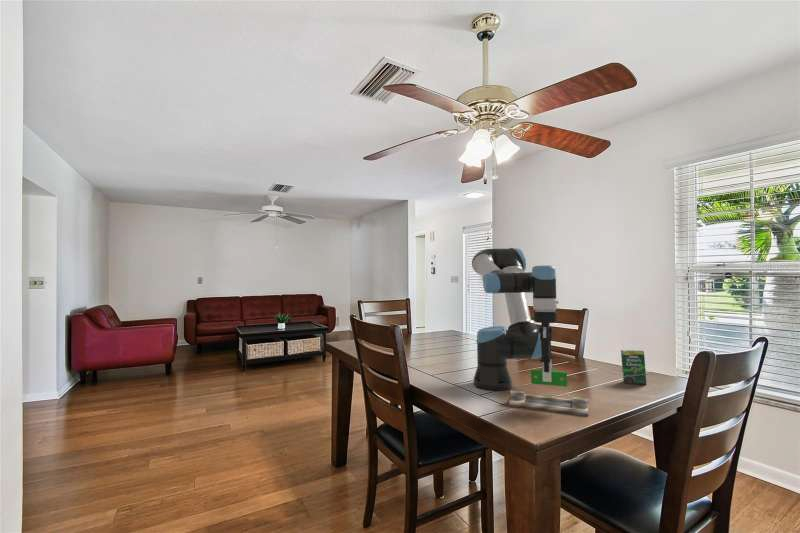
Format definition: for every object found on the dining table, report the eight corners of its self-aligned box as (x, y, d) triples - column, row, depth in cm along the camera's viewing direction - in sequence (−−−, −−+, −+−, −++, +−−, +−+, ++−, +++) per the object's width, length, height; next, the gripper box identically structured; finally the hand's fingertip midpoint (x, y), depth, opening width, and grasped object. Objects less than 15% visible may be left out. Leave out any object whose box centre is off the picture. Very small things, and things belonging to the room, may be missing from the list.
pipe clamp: (567, 384, 123) (567, 370, 123) (567, 387, 119) (566, 372, 120) (532, 380, 128) (531, 367, 128) (531, 383, 124) (530, 370, 124)
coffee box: (622, 382, 148) (621, 350, 149) (622, 381, 151) (620, 349, 151) (646, 385, 145) (645, 352, 145) (645, 383, 147) (644, 350, 148)
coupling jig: (508, 405, 125) (507, 394, 125) (512, 396, 134) (512, 386, 134) (589, 416, 114) (589, 404, 114) (588, 405, 123) (588, 394, 123)
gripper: (555, 312, 116) (558, 387, 115) (557, 309, 131) (560, 375, 130) (530, 312, 119) (533, 385, 118) (535, 308, 134) (538, 373, 133)
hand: (547, 379), depth 124 cm, fingers closed on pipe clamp, 4 cm apart
